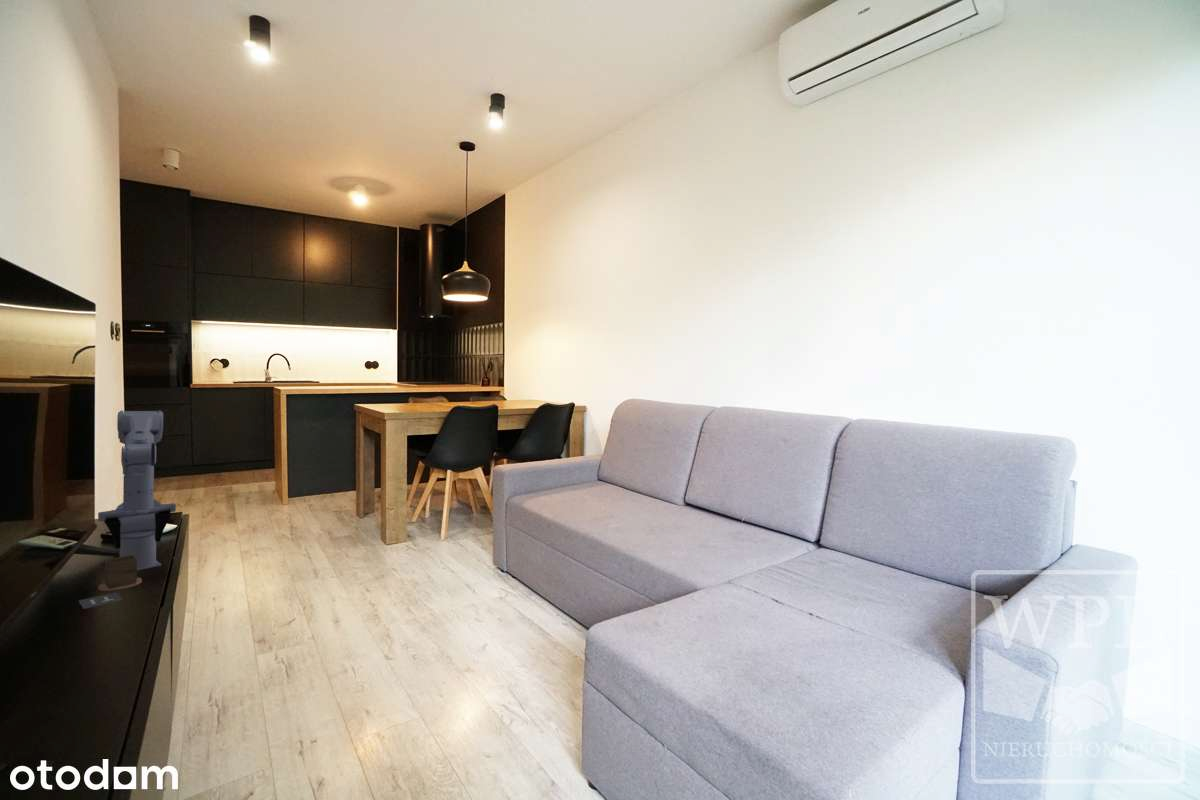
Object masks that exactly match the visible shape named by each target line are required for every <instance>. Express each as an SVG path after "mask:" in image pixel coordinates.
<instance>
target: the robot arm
mask: <svg viewBox="0 0 1200 800" xmlns="http://www.w3.org/2000/svg"><path fill="white" fill-rule="evenodd" d="M116 418H117V422H116V424H117V436H118V437H117V438H118V440H119V443H121V444H124V446H122V447H121V454H120V455H121V456H120V457H121V461H120V462H121V467H122V475H123V485H122V486H123V491H122V492H123V495H122V497H123V499H122V501H123V502H122V503H120V504H119V505H117V506H116V508H115V509H112V510H111V509H110V510H106V511H100V512H98V513H97V515H98V516H97V520H98V521H99V522H103V523H104V524H105V526H106V527H107V528H108V530H109V533H110V534H111V537H112V540H113V542H114V543H113V544H114V548H115V549H116V550H117V549H119V557H123V556H128V555H133V556H134V557H135V558H136V559H137V571H142V570H147V569H153V568H155V567H157V568H158V567H161V566H162V563H160V562H159V561H158V560H157V543H159V542H161V540H162V536H163V532H164V530H165V528H166V525H167V524H168V522H169V521H170V520H171V517H172V513H173V512H174V513H175V512H176V511H177V510H176V509H177V507H176V506H177V504H176V503H175V502H170V503H161V502H160V500H157V499H155V498H154V495H155V494H154V493H155V492H154V485H155V483H154V481H155V480H154V479H155V478H154V477H155V465H156V463H157V446H156V444H158V443H159V442H161V441H162V438H163V431H164V412H163V411H162V410H140V411H139V410H119V411H118V412H117V417H116Z"/></svg>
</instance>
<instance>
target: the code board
mask: <svg viewBox="0 0 1200 800" xmlns="http://www.w3.org/2000/svg"><path fill="white" fill-rule="evenodd" d="M122 600H123V598H122V596H120V595H119V594H118V592H115V591H114V592H112V593H108V594H102V595H99V596H98V595H97V596H93V597H88V598H84V599H80V600H78V603H79V605H81V607H82V609H84V610H85V609H88V608H93V607H97V606H101V605H106V604H110V603H115V602H121V601H122Z"/></svg>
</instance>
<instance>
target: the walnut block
mask: <svg viewBox="0 0 1200 800" xmlns="http://www.w3.org/2000/svg"><path fill="white" fill-rule="evenodd" d="M104 564H105V565H104V583H105V584H106V585H107V587H108V588H109V589H111V588H116V587H120V586H125V585H130V584H134V583H137V575H138V574H137V573H138V572H137V571H138V570H137V559H136V558H135V557H134V556H133V555H128V556H123V557H120V556H118V557H112V558H106V559H105V562H104Z"/></svg>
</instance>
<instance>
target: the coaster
mask: <svg viewBox="0 0 1200 800" xmlns="http://www.w3.org/2000/svg"><path fill="white" fill-rule="evenodd" d="M142 582H143V579H142V577H137V583H134V584H130V585H125V586H120V587H116V588H111V589H109V588H108V587H107V585H106V584H105V582H102V583H101V584H99V585H98V590H99V591H102V592H108V591H109V592H110V591H111V592H112V591H114V592H115V591H120V590H125V589H129V588H132V587H135V586H138V585H140V584H142Z"/></svg>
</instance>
